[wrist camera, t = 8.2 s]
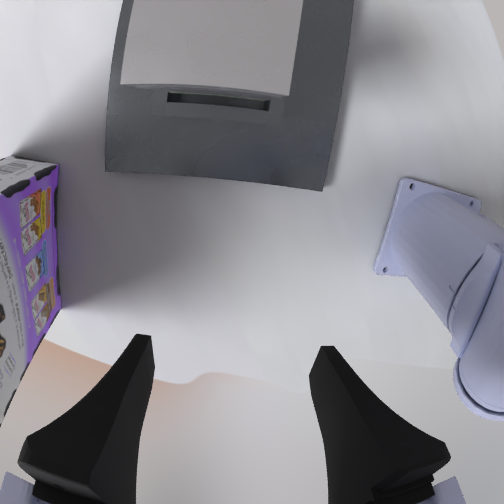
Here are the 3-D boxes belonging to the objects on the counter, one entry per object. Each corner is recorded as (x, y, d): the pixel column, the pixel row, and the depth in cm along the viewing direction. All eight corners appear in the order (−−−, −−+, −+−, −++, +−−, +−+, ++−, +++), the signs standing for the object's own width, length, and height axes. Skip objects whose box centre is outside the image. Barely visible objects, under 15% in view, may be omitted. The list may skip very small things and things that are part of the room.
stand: (349, -4, 13) (374, -23, 9) (318, 187, 20) (337, 208, 16) (135, -25, 11) (115, -48, 8) (110, 167, 18) (84, 185, 14)
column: (275, 20, 10) (311, -42, 4) (262, 100, 12) (290, 98, 6) (184, 12, 10) (146, -52, 4) (172, 93, 12) (118, 86, 6)
